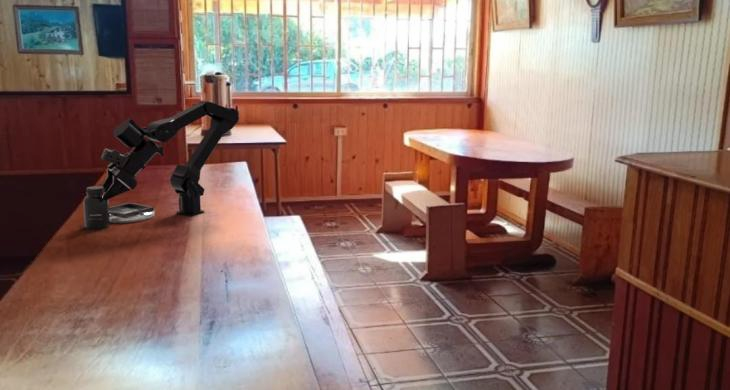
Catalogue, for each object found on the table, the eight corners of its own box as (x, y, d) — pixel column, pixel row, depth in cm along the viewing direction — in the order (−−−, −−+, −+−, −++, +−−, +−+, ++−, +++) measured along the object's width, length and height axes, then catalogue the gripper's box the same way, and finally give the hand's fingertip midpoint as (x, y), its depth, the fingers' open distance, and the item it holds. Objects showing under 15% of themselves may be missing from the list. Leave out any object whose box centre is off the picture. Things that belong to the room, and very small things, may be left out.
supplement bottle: (93, 231, 180) (89, 191, 177) (80, 227, 184) (77, 187, 181) (115, 226, 185) (112, 187, 183) (102, 222, 189) (99, 184, 187)
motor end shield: (165, 214, 200) (164, 206, 199) (123, 225, 186) (122, 217, 186) (131, 208, 208) (131, 200, 207) (89, 218, 194) (88, 209, 194)
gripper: (112, 135, 190) (76, 173, 187) (122, 142, 174) (82, 184, 171) (141, 159, 196) (106, 196, 193) (153, 168, 180) (114, 209, 177)
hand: (101, 196), depth 183 cm, fingers open, 9 cm apart
